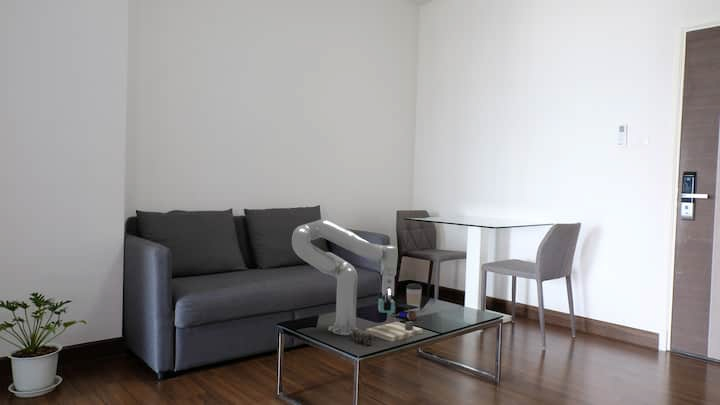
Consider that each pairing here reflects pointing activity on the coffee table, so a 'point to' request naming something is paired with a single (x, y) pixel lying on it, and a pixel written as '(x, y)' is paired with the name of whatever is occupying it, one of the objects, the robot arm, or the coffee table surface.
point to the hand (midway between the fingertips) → (386, 308)
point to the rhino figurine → (362, 336)
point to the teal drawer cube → (381, 306)
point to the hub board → (395, 331)
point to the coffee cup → (414, 295)
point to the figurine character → (400, 311)
